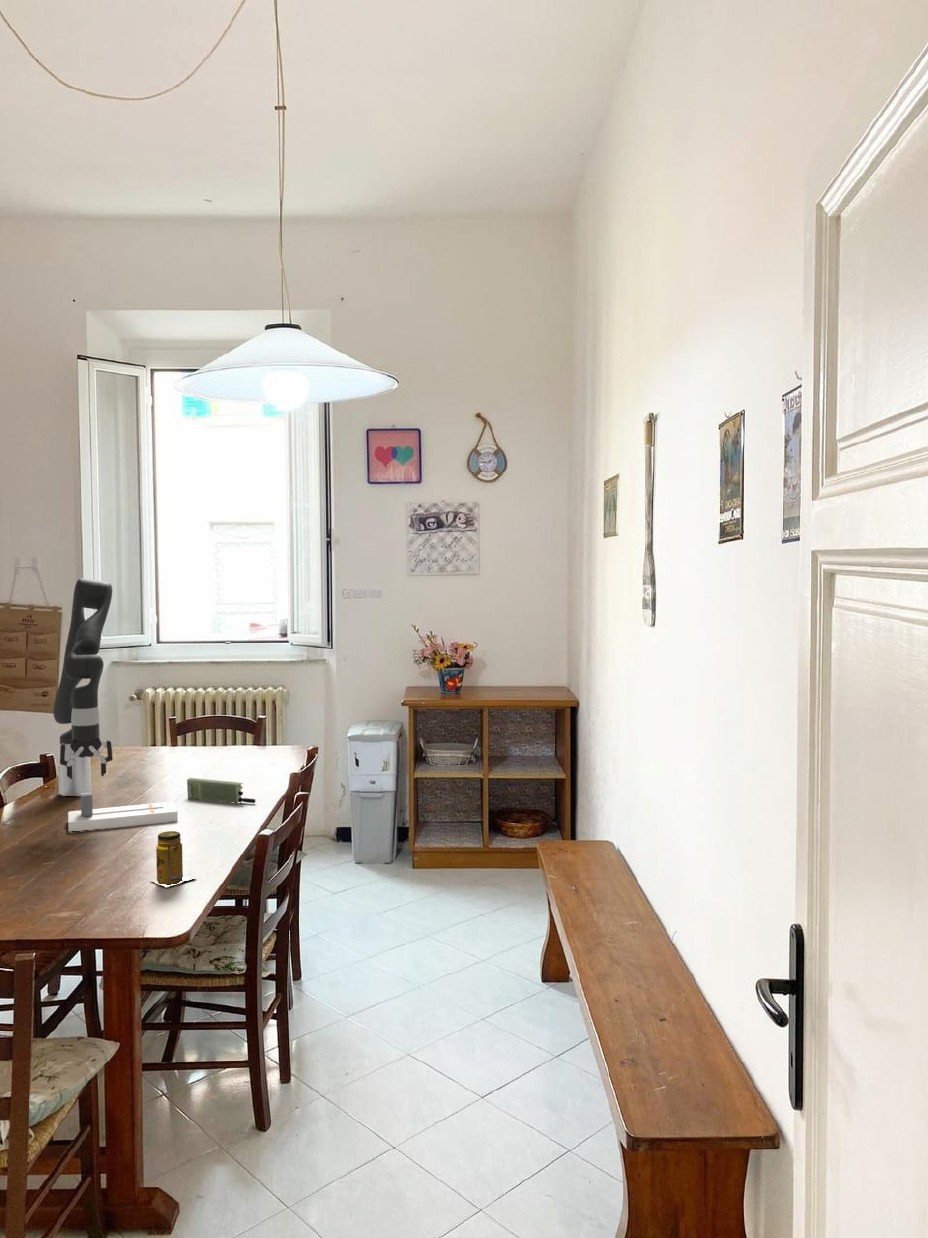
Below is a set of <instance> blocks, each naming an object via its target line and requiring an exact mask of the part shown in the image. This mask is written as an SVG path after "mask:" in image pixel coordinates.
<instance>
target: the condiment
mask: <svg viewBox="0 0 928 1238" xmlns="http://www.w3.org/2000/svg"><path fill="white" fill-rule="evenodd" d="M181 840H182V839H181V833H180V832H179V831H176V830H169V831H168V830H167V831H164V832H160V833H159V834H158V835H157V845H156V851H155V852H156V880H157V881H158V883H159V884H166V885H171V884H177V883H179V882H180V881H182V877H183V874H184V873H183V872H184V871H183V869H184V867H183V843H182V841H181Z"/></svg>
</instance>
